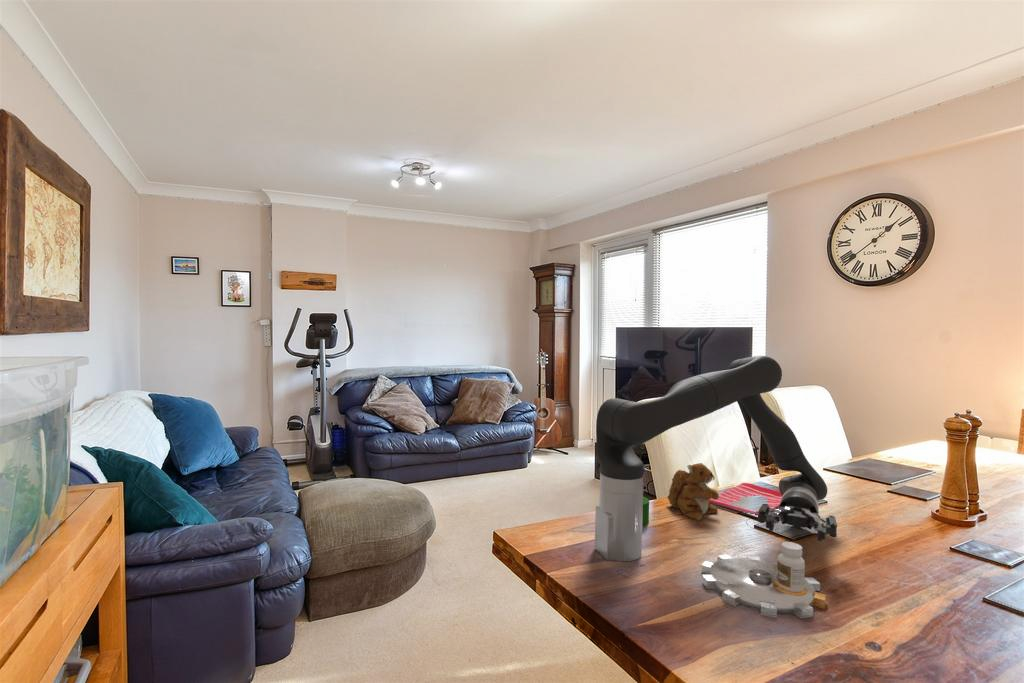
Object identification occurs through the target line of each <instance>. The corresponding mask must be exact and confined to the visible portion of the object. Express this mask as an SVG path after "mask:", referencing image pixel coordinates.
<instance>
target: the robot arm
mask: <svg viewBox="0 0 1024 683" xmlns="http://www.w3.org/2000/svg"><path fill="white" fill-rule="evenodd" d="M782 377H783V370H782V367H781V365H780V364H779V362H777V361H776V360H775V359H774V358H772V357H771V356H766V355H756V356H748V357H744V358H738V359H735V360H733V361H732V362H731V363H730V364H729V365H728V368H727V369H725V370H717V371H710V372H706V373H702V374H697V375H694V376H691V377H688V378H685V379H682V380H679V381H678V382H676V383H675V384H673V385H672V386H671V387H670V388H669V390H668V392H667V393H666V394H665V395H663V396H661V397H659V398H655V399H652V400H648V401H641V402H640V401H639V402H637V401H633V400H632V401H631V400H627V399H622V398H617V397H616V398H613V397H612V398H609V399H607V400H605V401H604V402H603V403H602V404H601V406H599V408H598V412H597V414H596V423H595V424H596V425H595V434H596V436H595V438H596V457H597V461H598V463H599V468H600V469H599V470H600V471H599V501H598V502H599V504H598V505H596V506H595V520H594V521H595V523H594V525H595V526H594V550H596V551H597V552H598V553H599V554H600V555H601V556H602V557H603V558H604V559H605V561H618V562H631V561H632V562H633V561H637V560H638V559H640V558H641V557H642V554H643V552H642V551H643V550H642V548H643V542H642V541H643V526H642V518H643V497H644V475H645V474H644V472H645V471H644V470H645V466H644V463H643V461H642V460H641V458H639V456H637V454H636V453H635V451H634V449H633V447H632V446H639V445H642V444H644V443H646V442H649V441H650V440H652V439H654V438H656V437H658V436H659V435H661V434H663V433H665V432H667V431H668V430H670V429H672V428H675V427H678V426H680V425H681V426H682V425H683V424H685V423H688V422H691V421H693V420H696V419H699V418H702V417H705V416H707V415H710V414H712V413H714V412H716V411H718V410H720V409H723V408H726V407H727V406H730V405H732V404H735V403H736V402H738V401H739V402H740V403H741V404H742V406H743V408H744V409H745V411H746V413H748V415H749V417H750V418H751V419H752V421H753V422H754V424H755V425H756V427H757V429H758V430H759V433H760V434H761V436H762V438H763V440H764V442H765V445H766V446H767V448H768V450H769V452H770V455H771V457H772V460H773V462H774V463H775V466H776V467H777V468H778V469H779V470H781V471H785V472H798V473H796V474H792V475H788V476H787V475H786V476H785V477H782V478H781V479H780V480H779V482H778V489H779V492H780V493H781V495H782V499H781V502H780V506H779V507H778V508H776V509H771V508H770V507H769V505H768V504H762V506H761V507H760V509H759V516H758V519H757V522H758V523H760V524H764V523H765V528H766V529H768V531H769V532H774V529H775V526H778V527H780V528H782V527H787V526H788V527H790V528H791V529H793V530H798V531H808V532H810V533H811V534H817V541H818V542H822V540H827V535H829V536H830V537H832V538H837V535H838V534H837V531H838V529H837V528H838V524H837V519H836V517H835V516H834V515H828V516H826V517H821V516H820V515H819V513H820V512H819V502H818V501H822V500H824V499H825V498H826V497H827V495H828V486H827V484H826V482H825V480H824V479H823V478H822V476H821V475H820V474H819V472H817V470H816V469H815V468H814V467H813V466H812V465H811V463H810V461H808V459H807V457H806V456H805V454H804V452H803V450H802V447H801V445H800V443H799V440H798V438H797V436H796V434H795V433H794V431H793V430H792V429H791V427H790V426H789V425H788V424H787V423H786V422H785V421H784V420H783V419H781V417H780V416H778V415H777V413H775V412H774V411H773V410H772V409H771V408H770V407H769V406H768V404H767V403H766V402H765V400H764V398H763V397H762V395H761V394H764V393H769V392H772V391H773V390H775V389H776V388H777V387H778V386H779V385H780V383H781V380H782Z"/></svg>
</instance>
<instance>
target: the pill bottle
mask: <svg viewBox="0 0 1024 683" xmlns="http://www.w3.org/2000/svg"><path fill="white" fill-rule="evenodd" d="M780 552H781V553H779V554H778V556H777V563H776V564H777V584H778V585H779V586H780V587H781V588H783V589H785V590H787V591H790V592H801V591H803V589H804V577H805V574H806V573H805V571H806V570H805V568H806V564H805V559H804V558H803V557H802V556H803V546H802V545H800V544H798V543H796V542H793V541H783V542H781V544H780Z"/></svg>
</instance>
